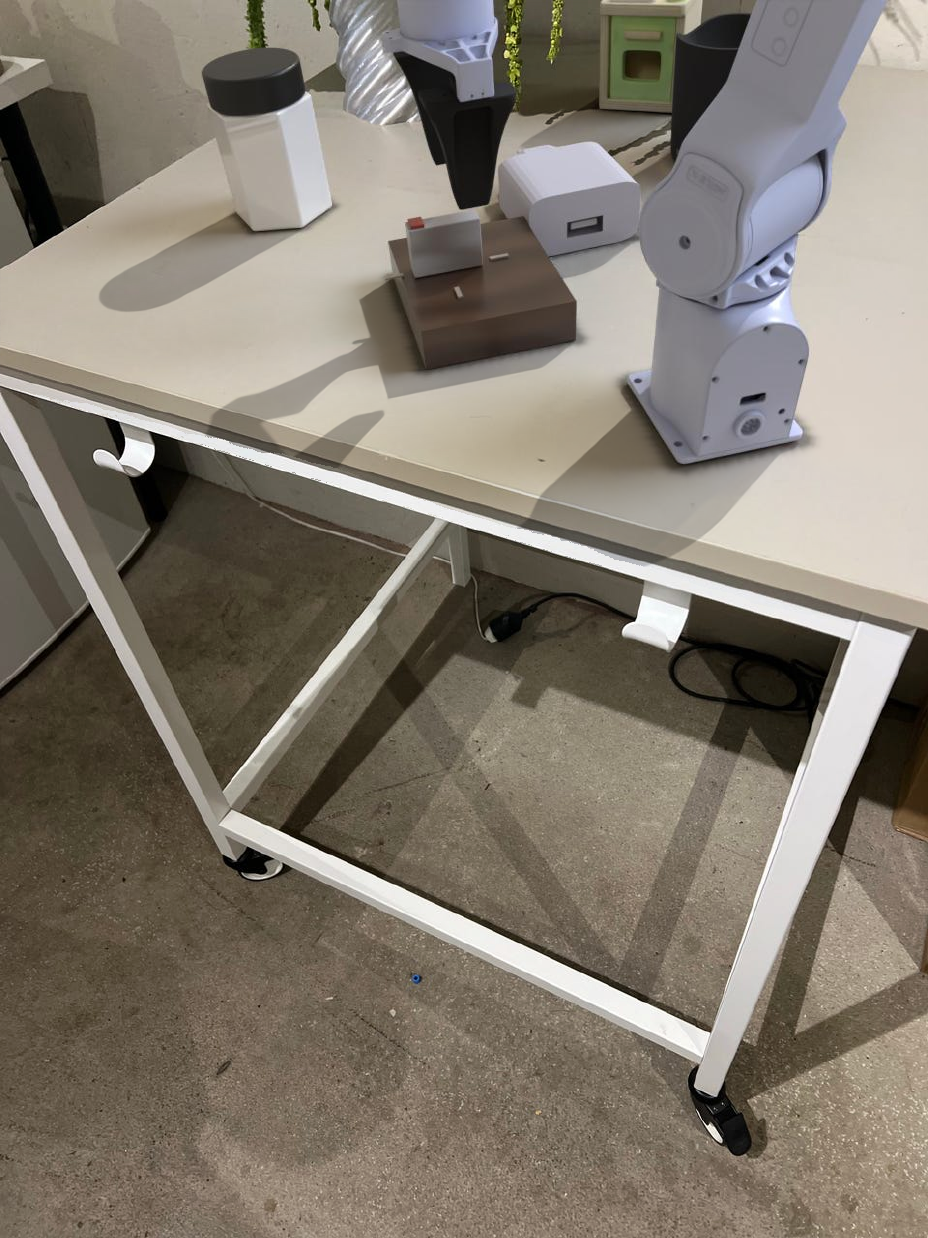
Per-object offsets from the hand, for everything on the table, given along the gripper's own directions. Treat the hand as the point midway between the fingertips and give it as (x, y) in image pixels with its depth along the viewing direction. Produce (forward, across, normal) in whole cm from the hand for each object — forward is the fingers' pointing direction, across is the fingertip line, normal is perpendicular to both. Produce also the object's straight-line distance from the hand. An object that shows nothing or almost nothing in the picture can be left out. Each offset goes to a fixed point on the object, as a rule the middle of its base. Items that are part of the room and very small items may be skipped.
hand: (460, 182), depth 59 cm
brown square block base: (+9, 0, 0) cm, 9 cm away
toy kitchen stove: (+9, -34, +27) cm, 44 cm away
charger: (+9, -13, +10) cm, 19 cm away
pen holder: (+9, -18, +28) cm, 34 cm away
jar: (+9, -23, -12) cm, 27 cm away
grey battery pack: (+6, -1, -1) cm, 6 cm away
